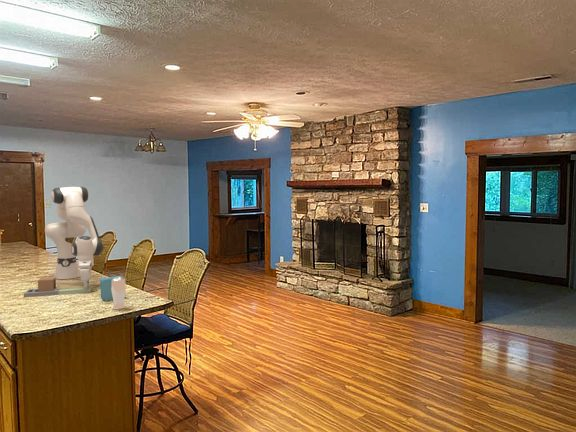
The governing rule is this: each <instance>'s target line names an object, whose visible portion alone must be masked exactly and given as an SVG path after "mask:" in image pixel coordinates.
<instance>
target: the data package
mask: <svg viewBox="0 0 576 432" xmlns="http://www.w3.org/2000/svg"><path fill="white" fill-rule="evenodd" d="M115 278H124V277H123V276H121V275H120V276H112V277H111V276H110V277H103V278H100V282H99V283H100V285H99V286H100V287H99V288H100V299H101V300H102V301H104V302H107V301H113V296H112V292H111V280H112V279H115Z"/></svg>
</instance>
